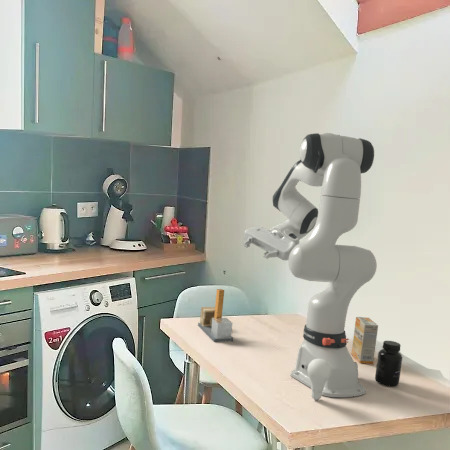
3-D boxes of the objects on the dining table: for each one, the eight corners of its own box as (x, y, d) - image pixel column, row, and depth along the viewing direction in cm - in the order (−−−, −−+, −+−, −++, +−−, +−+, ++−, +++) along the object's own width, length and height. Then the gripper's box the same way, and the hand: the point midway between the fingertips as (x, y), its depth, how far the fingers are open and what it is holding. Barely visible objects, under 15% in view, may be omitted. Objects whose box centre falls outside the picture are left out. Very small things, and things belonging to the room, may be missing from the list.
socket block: (218, 326, 190) (220, 310, 189) (203, 326, 188) (204, 310, 187) (215, 322, 194) (216, 306, 193) (199, 323, 191) (201, 307, 191)
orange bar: (228, 335, 178) (232, 294, 176) (218, 335, 176) (222, 294, 175) (218, 326, 187) (222, 287, 185) (209, 326, 186) (212, 287, 184)
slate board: (233, 341, 178) (233, 338, 178) (213, 341, 175) (214, 339, 175) (215, 325, 194) (216, 322, 194) (197, 325, 192) (198, 322, 192)
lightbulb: (325, 406, 134) (330, 365, 132) (302, 401, 136) (306, 360, 134) (329, 397, 139) (333, 357, 138) (306, 392, 141) (310, 353, 140)
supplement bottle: (400, 389, 150) (405, 348, 149) (375, 385, 151) (380, 344, 150) (397, 380, 157) (402, 341, 155) (373, 376, 158) (378, 337, 157)
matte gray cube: (231, 338, 177) (232, 322, 177) (216, 338, 176) (218, 323, 175) (225, 332, 183) (226, 317, 182) (211, 333, 181) (212, 318, 180)
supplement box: (350, 354, 176) (355, 316, 174) (364, 355, 176) (369, 317, 175) (359, 363, 168) (364, 323, 166) (373, 364, 168) (378, 324, 167)
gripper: (259, 218, 197) (234, 231, 188) (303, 240, 184) (278, 254, 176) (258, 233, 200) (233, 246, 191) (301, 255, 188) (276, 270, 179)
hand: (255, 250), depth 183 cm, fingers open, 8 cm apart
